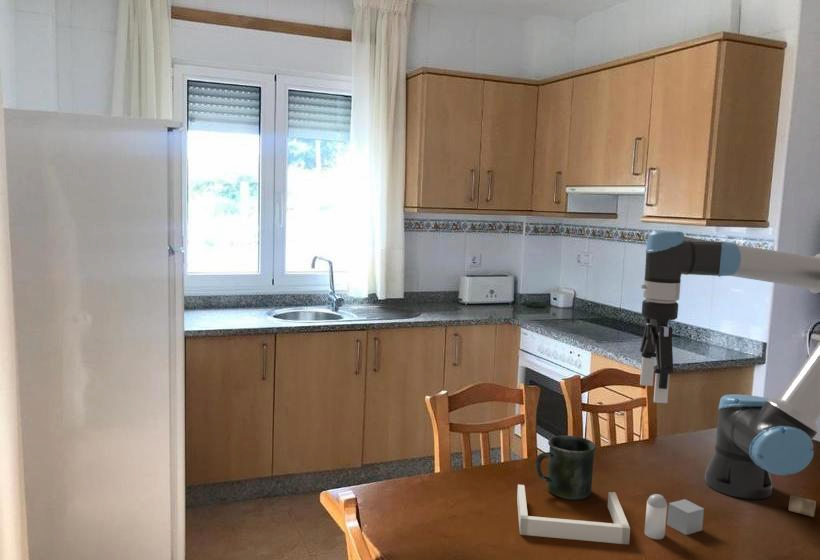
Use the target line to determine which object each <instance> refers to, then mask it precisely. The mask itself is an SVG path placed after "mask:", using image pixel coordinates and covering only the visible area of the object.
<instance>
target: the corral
mask: <svg viewBox="0 0 820 560" xmlns="http://www.w3.org/2000/svg"><path fill="white" fill-rule="evenodd" d="M516 491H517V494H516V495H517V496H516V501H517V503H516V504H517V513H518V514H517V515H518V516H517V517H518V525H519V527H518V528H519V529H518V530H519V535H521V536H529V537H530V536H531V537H540V538H541V537H544V538H554V539H563V540H564V539H565V540H574V541H575V540H576V541H587V542H597V543H607V544H609V543H610V544H618V545H630V537H631V536H630V535H631V527H630V524H629V522H628V520H627V517H626V515H625V512H624V510H623V507H622V505H621V503H620V501H619V498H618V496H617V493H616V491H615V492H614V491H613V492H611V491H608V496H607V506H606V507H607V509H608V511H609V514H610V517H611V520H612V522H613V523H611V522H602V521H601V522H600V521H589V520H579V519H566V518H557V517H554V518H553V517H546V516H543V517H542V516H533V515H531V516H530V515H528V507H527V506H528V505H527V498H526V495H527V494H526V487H525V485H524V484H517V490H516Z"/></svg>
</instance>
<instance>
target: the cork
mask: <svg viewBox="0 0 820 560" xmlns="http://www.w3.org/2000/svg"><path fill="white" fill-rule="evenodd" d="M788 501H789V502H788V512H793V513H796V514H800V515H804V516H808V517H811V518H814V517H815V514H816V513H815V512H816V508H817V501H816V500H813V499H808V498H804V497H800V496H796V495H794V494H793V495H792V494H790V497H789V500H788Z"/></svg>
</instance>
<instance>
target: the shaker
mask: <svg viewBox="0 0 820 560" xmlns="http://www.w3.org/2000/svg"><path fill="white" fill-rule="evenodd" d="M645 509H646V511H645V521H644V535H645V536H646V537H648V538H650V539H653V540H662V539H664V538H665V535H666V534H665V533H666V526H667V515H668V502H667V499H666V498H665V497H664V496H663V495H662V494H658V493H654V494H651V495H649V497H648V499H647V500H646V507H645Z"/></svg>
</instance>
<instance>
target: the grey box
mask: <svg viewBox="0 0 820 560" xmlns="http://www.w3.org/2000/svg"><path fill="white" fill-rule="evenodd" d="M704 511H705V508H704V507H702V506H700V505H698V504H695V503H693V502H691V501H689V500H688V499H684V498H683V499H680V500H676V501H673V502H669V503H668V506H667V517H666V526H669V527H670V528H672V529H674V530H676V531H678V532H680V533H681V534H683V535H685V536H689V535H691V534H695V533H697V532H701V531H703V523H704V513H705V512H704Z"/></svg>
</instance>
